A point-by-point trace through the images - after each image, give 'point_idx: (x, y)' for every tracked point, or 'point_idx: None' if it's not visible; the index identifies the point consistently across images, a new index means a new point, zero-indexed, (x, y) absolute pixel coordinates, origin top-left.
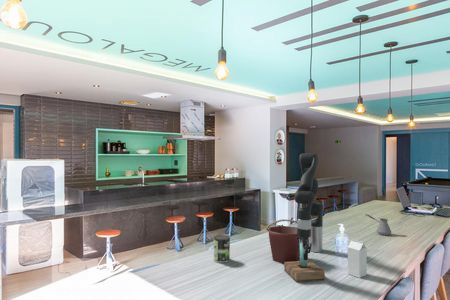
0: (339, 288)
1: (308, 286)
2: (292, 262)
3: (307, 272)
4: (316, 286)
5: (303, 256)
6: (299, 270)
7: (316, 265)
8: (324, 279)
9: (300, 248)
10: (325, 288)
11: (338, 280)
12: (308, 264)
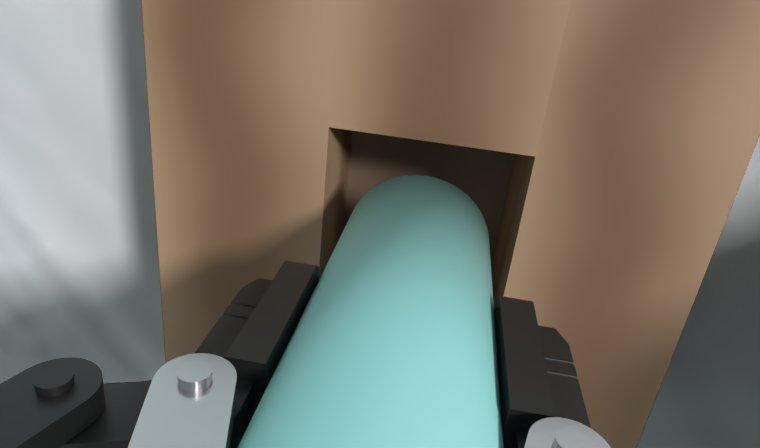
0: (12, 324)
1: (70, 19)
2: (695, 142)
3: (156, 134)
4: (66, 125)
5: (309, 304)
6: (237, 29)
7: None
8: None
9: (375, 432)
10: (11, 192)
11: None
12: None
